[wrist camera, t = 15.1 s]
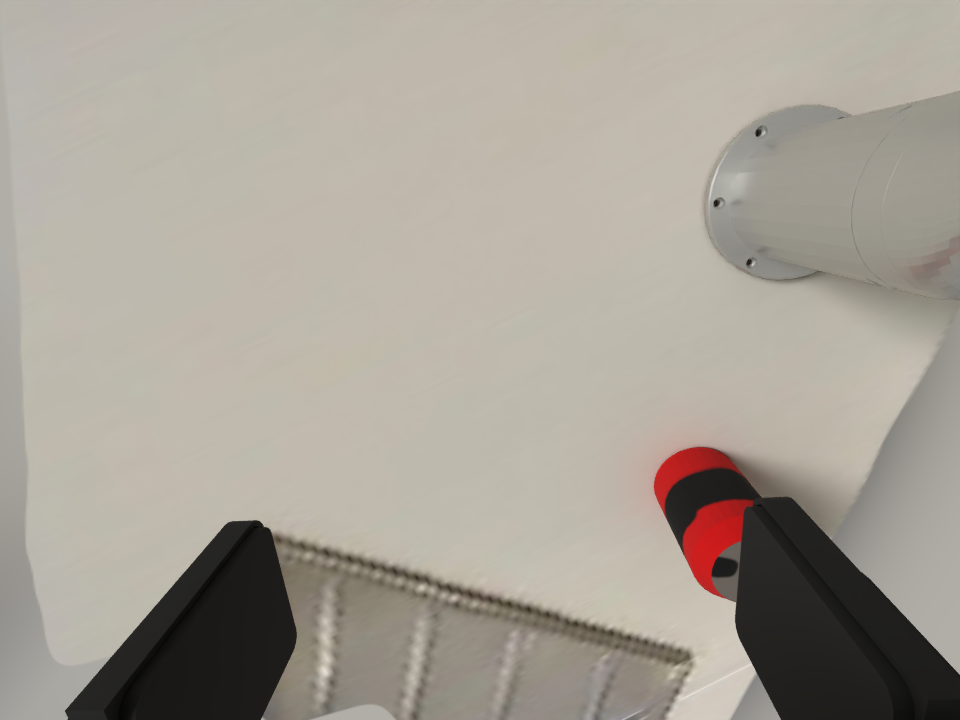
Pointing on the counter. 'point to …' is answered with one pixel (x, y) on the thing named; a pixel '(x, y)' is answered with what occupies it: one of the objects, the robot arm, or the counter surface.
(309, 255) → the counter surface
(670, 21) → the counter surface
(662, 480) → the soda can
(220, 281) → the counter surface
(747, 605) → the robot arm
